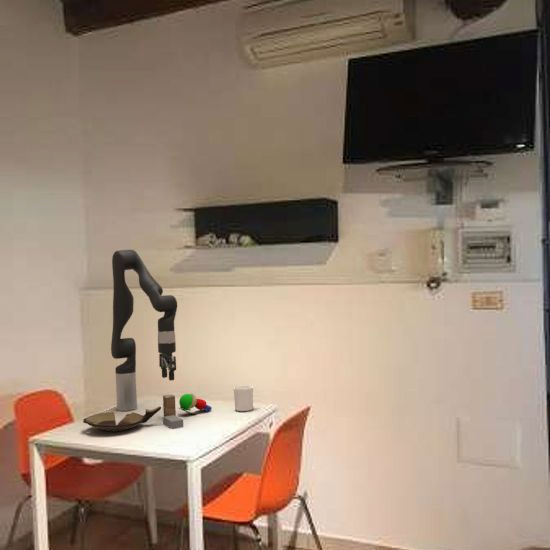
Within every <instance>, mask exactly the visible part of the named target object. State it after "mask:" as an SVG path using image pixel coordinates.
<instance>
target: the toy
mask: <svg viewBox="0 0 550 550" xmlns="http://www.w3.org/2000/svg"><path fill="white" fill-rule="evenodd" d="M178 404H179V407H178V409H179V410H181V411H184V412H186V413H189V414H190V413H191V415H196V414H195V413H192V412H191V409H193V408H194V407H195V409H197V410H199V411H207V412H210V411H212V409H213V408H212V406H210V405H208V404H207V401H205V400H204V399H203V398H197V397H196V395H195V394H194V393H185V394H183V395H182V396H180V399H179V403H178Z"/></svg>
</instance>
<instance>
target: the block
mask: <svg viewBox="0 0 550 550" xmlns="http://www.w3.org/2000/svg"><path fill="white" fill-rule="evenodd" d="M162 405H163V407H162V409H163V417H165V416H171V415H175V416H177V415H176V396H175V395H174V394H166V395H165V394H164V395H162Z"/></svg>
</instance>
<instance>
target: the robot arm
mask: <svg viewBox="0 0 550 550" xmlns="http://www.w3.org/2000/svg"><path fill="white" fill-rule="evenodd" d="M111 263H112V264H111V269H112V281H113V286H112V287H113V289H112V291H113V294H112V295H113V296H112V297H113V298H112V332H111V333H112V334H111V343H110V351H111V352H110V353H111V356H112V358H113V359H115V360H118V359H119V360H120V359H126V360H125V361H124V362H123V363H121V364H119V365H117V366H116V367H115V389H116V390H115V392H116V394H115V396H116V397H115V398H116V410H117V411H120V412H127V411H134V410H136V409H138V398H137V397H138V395H137V394H138V393H137V374H136V367H137V360H136V358H137V357H136V356H137V355H136V354H137V345H136V344H137V343H136V341H135V339H134V338H133V337H124V338H123V337H122V333H123V330H124V328H125V327H126V325H127V323H128V322H129V320H130V319H131V317H132V315H133V314H134V304H135V301H134V296H133V293H132V291H131V290H130V288H129V287H128V285H127V282H126V276H125V273H126V271H130V270H132V271H134V272H135V273H136V274H137V275H138V283H139V284H138V285H139V287H140V289H141V291H143V293H144V294H146V296H147V297H148V299H149V301H150V303H151V306H152V308H153V309H154V310H155V311H157V312H158V313H163V315H162V317H160V318H158V320H157V351H158V353H159V354H158V356H159V357H158V359H159V364H158V366H159V368H160V370H161V378H163V379H164V378H168V380H169V381H174V380H175V371H177V363H176V362H177V359H176V357H177V356H175V355H173V353H176V351H177V347H176V346H177V345H176V333H175V320H176V315H177V312H178V311H177V310H178V302H177V298H176V297H175V296H174V295H170V294H169V295H166V294H165V295H163V292H164V291H163V290H164V289H163V288H162V286H161V284H159V283H158V282H157V281H156V279H155V278H154V277H153V276H152V275H151V273H150V271H149V270H148V268H147V266H146V265H145V264H144V262H143V260H142V258H141V257H140V255H139V254H138V252H137V251H136V250H134V249H123V250H122V249H120V250H116V251H114V252H113V254H112V257H111ZM121 337H122V338H121Z"/></svg>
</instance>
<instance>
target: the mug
mask: <svg viewBox="0 0 550 550" xmlns="http://www.w3.org/2000/svg"><path fill="white" fill-rule="evenodd" d="M232 390H233V393H234V394H233V396H234V411H235V412H237V413H248V412H252V411H253V409H254V386H253V385H238V386H234V387H233V389H232Z"/></svg>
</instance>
